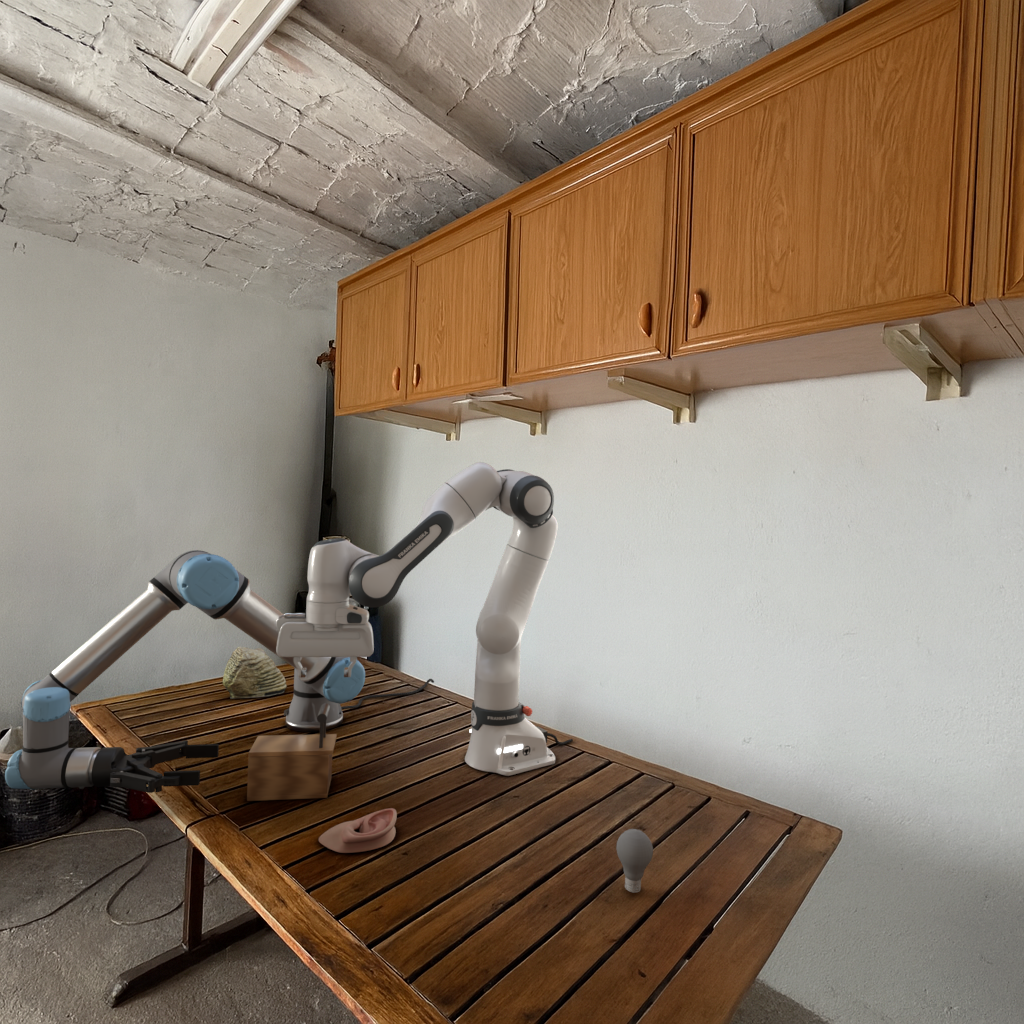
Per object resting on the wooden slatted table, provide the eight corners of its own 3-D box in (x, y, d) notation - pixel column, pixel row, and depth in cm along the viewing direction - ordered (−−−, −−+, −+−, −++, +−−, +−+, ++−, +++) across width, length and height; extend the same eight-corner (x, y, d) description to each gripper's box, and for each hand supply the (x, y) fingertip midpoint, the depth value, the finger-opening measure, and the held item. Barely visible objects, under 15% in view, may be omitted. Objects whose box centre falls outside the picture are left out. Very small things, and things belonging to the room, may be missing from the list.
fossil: (218, 695, 195) (220, 647, 195) (278, 685, 208) (279, 640, 207) (228, 703, 189) (230, 653, 188) (289, 692, 201) (290, 645, 201)
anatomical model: (310, 826, 114) (340, 797, 125) (309, 848, 114) (339, 817, 125) (379, 837, 111) (403, 806, 122) (378, 859, 111) (403, 827, 123)
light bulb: (610, 879, 108) (613, 822, 108) (644, 879, 109) (647, 822, 109) (619, 902, 102) (622, 840, 102) (655, 901, 103) (658, 840, 103)
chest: (331, 778, 143) (333, 738, 142) (327, 798, 133) (328, 755, 133) (256, 781, 140) (257, 740, 139) (246, 801, 130) (248, 757, 130)
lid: (336, 738, 142) (338, 701, 142) (332, 754, 133) (334, 715, 133) (257, 739, 139) (259, 702, 139) (248, 757, 130) (249, 716, 130)
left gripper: (123, 760, 142) (224, 757, 146) (66, 815, 117) (189, 810, 121) (124, 726, 142) (225, 724, 145) (67, 775, 117) (190, 771, 121)
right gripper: (274, 615, 132) (271, 681, 132) (374, 616, 136) (372, 680, 136) (279, 610, 138) (277, 673, 138) (375, 611, 142) (373, 672, 142)
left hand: (209, 763), depth 133 cm, fingers open, 13 cm apart
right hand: (325, 676), depth 137 cm, fingers open, 8 cm apart
